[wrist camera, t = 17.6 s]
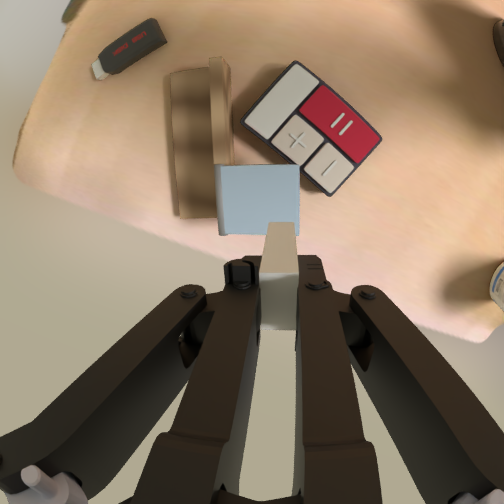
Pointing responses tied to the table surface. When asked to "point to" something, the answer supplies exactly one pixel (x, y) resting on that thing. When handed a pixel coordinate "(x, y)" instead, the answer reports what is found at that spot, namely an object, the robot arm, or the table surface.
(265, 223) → the light blue flat tile
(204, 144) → the wooden l-shaped bracket
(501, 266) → the supplement tub
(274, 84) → the calculator
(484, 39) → the table surface
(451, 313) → the table surface
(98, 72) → the usb drive
